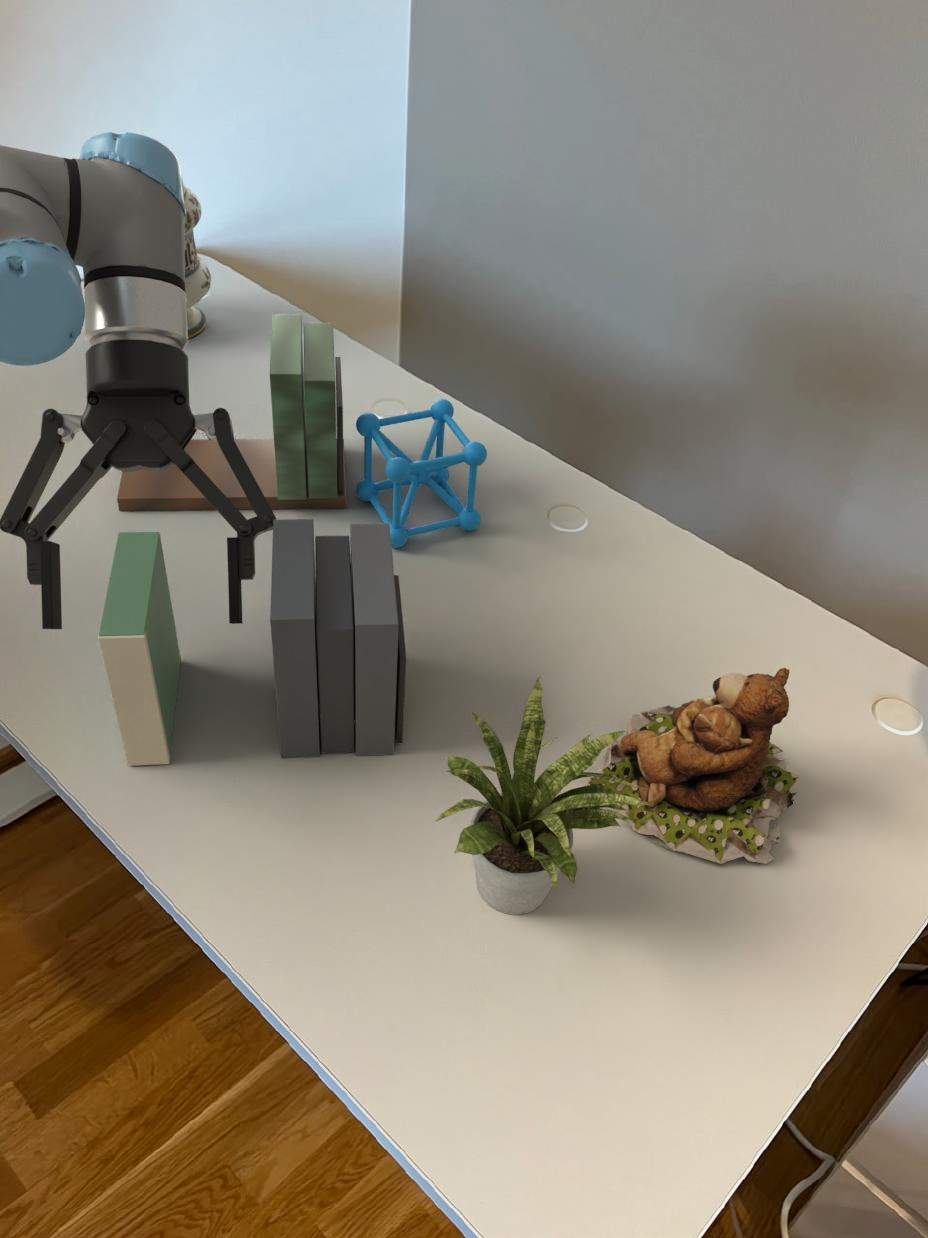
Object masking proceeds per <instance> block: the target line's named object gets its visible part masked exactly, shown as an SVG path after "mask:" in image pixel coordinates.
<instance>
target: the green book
mask: <svg viewBox="0 0 928 1238" xmlns="http://www.w3.org/2000/svg"><path fill="white" fill-rule="evenodd" d="M161 538H162V537H161V532H160V531H121V532H120V531H119V532H118V534H117V539H116V544H115V548H114V549H115V550H114V555H113V560H112V564H111V570H110V575H109V580H108V586H107V591H106V596H105V600H104V606H103V611H102V615H101V622H100V627H99V631H98V635H97V641H98V645H99V649H100V653H101V657H102V662H103V666H104V669H105V675H106V679H107V682H108V687H109V691H110V695H111V700H112V703H113V708H114V711H115V717H116V721H117V724H118V729H119V733H120V737H121V741H122V745H123V746H122V747H123V750H124V755H125V758H126V762H127V766H128V767H131V766H135V767H136V766H155V765H157V766H158V765H170V762H171V751H172V742H173V733H174V727H175V726H174V724H175V716H176V707H177V698H178V690H179V681H180V671H181V664H182V663H181V662H182V659H181V654H180V647H179V641H178V634H177V629H176V623H175V616H174V611H173V605H172V599H171V592H170V587H169V582H168V575H167V568H166V562H165V557H164V551H163V550H164V549H163V545H162V544H163V543H162V539H161Z"/></svg>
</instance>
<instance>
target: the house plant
mask: <svg viewBox="0 0 928 1238" xmlns="http://www.w3.org/2000/svg"><path fill="white" fill-rule="evenodd" d="M540 679H541V676H538V678H537V679H536V680H535V683H534V685H533V687H532V688H531V691H530V693H529V695H528V698H527V703H526V705H525V708H524V712H523V717H522V721H521V725H520V728H519V729H520V730H519V733H518V735H517V739H516V743H515V747H514V751H513V756H512V768H513V769H512V770H513V774H512V773H511V768H510V765H509V762H508V759H507V756H506V752H505V748H504V746H503V744H502V742H501V740H500V739H499V737H498V736H497V734H496V733H495V731H494V730H493V728H492V727H491V725H490V724H488V722H486V721H485V719H483V718H482V717H481V716H479V715H478V714H476V713H475V712H474V711H472V710H470V713H471V715H472V717H473V720H474V722H475V723H476V725H477V726H478V727H479V729H480V733H481V738H482V740H483V742H484V744H485V746H486V748H487V751H489V753H490V756H491V758H492V761H493V764H494V766H491V765H490V766H489V765H477V764H476V763H474V761H472V760H471V759H468V758H466V757H464V756H463V757H462V756H457V755H456V756H455V755H454V756H453V755H452V756H451V755H449V756H445V758H446V761H447V767H448V769H449V770H447V771H446V773H449V774H451V775H452V776H453V777H458V778H459V779H460V780H462V781H464V782H465V783H466V784H468V785H469V786H471V787H472V788H474V789H475V790H477V791H478V792H479V793H480V795H481V796H483V798H484V799H485V800H483V802H482V801H480V800H477V799H474V798H464V799H461V800H460V801H457V802H456V803H454V805H452V806H451V807H449V808H447V809H446V810H445V811H443V812H441V813H440V814H439V816H438V817H437V819H436V820H434V821H433V823H435V822H438V821H441V820H443V819H445V818H447V817H449V816H450V817H451V816H452V815H455V814H457V813H459V812H463V811H464V810H468V809H472V808H476V810H474V813H473V815H472V817H471V820H470V824H469V825H468V826H466V827H464V828H462V830H461V832H460V834H459V838H458V841H457V845H456V848H455V851H454V852H453V854H457V853H463V854H467V855H472V859H473V867H474V873H475V880H476V881H475V882H476V886H477V890H478V893H479V895H480V897H481V898H482V900H483V901H484V902H485V903H486V904H487V906H489V907H490V908H492V909H494V910H495V911H496V912H500V913H503V914H506V915H514V916H517V915H525V914H527V913H530V912H533V911H534V910H536V909H537V908H538V907H540V906H541V905H542V904H543V902H544V901H545V900H546V898H547V896H548V894H549V893H550V890H552V887H553V886H554V888H555V890H557V888H558V876H559V875H560V873H562V874H564V876H566V877H567V878H568V880H569V881H570V882H571V884H572V888H575V883H576V878H577V874H578V863H577V859H576V858H575V854H574V853H573V852H572V849H573V846H574V831H573V830H599V829H605V828H608V827H619V828H621V829H622V828H623V827H622V826H621V824H619V822H618V821H617V820H621V821H628V820H631V819H630V818H628V817H626V816H623V815H622V814H621V813H620V812H618V811H617V810H626V809H625V808H623V807H621V806H619V805H617V804H619V803H622V804H630V805H651V804H650V803H648V802H645V801H642V800H639V799H636V798H634V797H630V796H625V795H620V794H615V793H614V791H613V790H611V789H609V788H608V787H606V786H603V785H589V784H588V785H584V786H579V787H576V788H572V789H569V790H566V791H565V792H562V791H563V790H564V789H565V788H566V787H567V786H568V785H569V784H570V783H571V782H573V781H576V780H579V779H582V778H592V777H594V776H595V777H599V778H604V779H608V780H612V781H615V782H619V783H622V784H626V785H629V786H633V787H637V788H641V789H645V790H649V789H646V788H643V787H640V786H637V785H635V784H632V783H629V782H627V781H625V780H623V779H620V778H617V777H614V776H610V775H606V774H601V773H596V772H594V771H593V772H592V771H591V772H590V771H586V770H588V769H590V767H592V766H593V765H594V763H595V761H596V760H597V758H598V757H599V755H600V754H601V752H602V751H603V750H604V749H605V748H607V747H609V746H610V745H612V744H614V742H617V739H618V737H619V736H620V735H623V734H624V732H627V731H625V730H618V731H613V732H609V733H605V734H602V735H599V736H597V737H595V738H593V739H591V736H592V735H594V733H590V734H589V735H587V736H585V737H583V739H581V740H580V741H578V742H577V743H576V744H574V745H573V746H572V747H571V748H570V749H569V750H568V751H567V752H565V753H564V754H563V755H561V757H559V758H558V759H556V760H555V761H554V762H552V763H551V764H550V765H549V766H548V767H547V768H546V769H544V771H543V772H542V773H541V774H540V775H539V776H538V777H537V779H536V778H535V777H536V770H537V765H538V760H539V756H540V752H541V750H543V749H544V748H546V747H547V746H548V745H550V744H551V743H552V742H554V741H556V739H557V738H558V737H559V735H558V736H556V737H554V738H551V740H549V741H547V742H545V743H543V744H542V742H543V738H544V734H545V728H546V715H545V712H544V708H543V691H544V690H543V687H542V683H541V680H540ZM590 739H591V740H590ZM589 740H590V741H589ZM483 770H486V771H491V772H492V773H493V772H494V773H496V776H497V780H498V785H499V787H500V790H501V792H499V791H498V789H497V787H496V786H495V784H494V783H493V782H492V781H491V779H489V777H488V776H487V775H486V774H485V772H483ZM535 779H536V780H535ZM650 791H651V790H650ZM560 792H562V793H560ZM559 793H560V794H559ZM652 806H653V805H652ZM605 808H607V809H605ZM608 808H610V809H613V810H610V809H608ZM616 809H617V810H616ZM614 810H616V811H614ZM627 811H628V810H627ZM632 821H633V820H632Z"/></svg>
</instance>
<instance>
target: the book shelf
mask: <svg viewBox="0 0 928 1238" xmlns="http://www.w3.org/2000/svg"><path fill="white" fill-rule="evenodd" d="M302 316H303V315H302V314H301V313H299V314H298V313H272V314H271V329H270V353H269V357H270V358H269V387H270V403H271V417H272V433H273V438H238V439H237V438H234V441H235V443H236V445H237V447H238V449H239V450H240V452H241V454H242V456H243V458H244V460H245V461H246V463H247V465H248V467H249V469H250V471H251V472H252V474H253V476H254V478H255V480H256V482H257V484H258V485H259V487H260V489H261V491H262V493H263V495H264V496H265V498H266V500H267V502H268V504H269V506H270V508H271V509H272V510H294V509H295V510H297V509H299V510H300V509H301V510H302V509H305V510H306V509H307V510H308V509H347V507H348V506H347V505H348V504H347V500H348V498H347V496H348V495H347V477H346V476H347V475H346V457H345V456H346V455H345V439H344V404H343V403H344V402H343V384H342V382H343V381H342V362H341V356H335V337H334V336H335V335H334V323H333V322H304V323H303V318H302ZM184 451H185V452H186V453H187V454H188V455H189V456H190V457H191V458H192V459H193V461H194V462H195V463H196V464H197V465H198V466H199V467H200V468H201V469H202V471H203V472H204V473H205V474H206V475H207V476H208V477H209V478H210V479H211V480H212V482H213V483H214V484H215V485H216V486H217V487H218V488H219V489H220V490H221V492H222V493H223V494H224V495H225V496H226V497H227V498H228V499H229V500H230V501H231V503H232V504H233V505H234V506H235V507H236V508H237V509H238V510H254V509H253V508H252V506H251V504H250V502H249V500H248V498H247V497H246V495H245V493H244V491H243V489H242V487H241V485H240V484H239V482H238V480H237V478H236V476H235V474H234V473H233V471H232V469H231V467H230V465H229V463H228V462H227V460H226V458H225V456H224V454H223V452H222V450H221V449H220V446H219V444H218V442H213V441H210V440H209V439H208V438H207V439H205V438H204V439H203V438H201V439H200V438H199V439H196V438H195V439H194V438H193V439H191V440H190V441H189V443H188V444H187V446H186V447H185V448H184ZM121 472H122V471H121ZM116 496H117V497H116V501H117V507H118V511H119V512H139V511H140V512H141V511H142V512H147V511H150V512H151V511H154V512H155V511H217V510H216V509H215V508H214V507H213V505H212V504H211V503H210V502H209V501H208V500H207V499H206V498H205V497H204V496H203V494H202V493H201V492H200V491H199V490H198V489H197V488H196V487H195V486H194V485H193V483H192V482H191V481H190V480H189V479H188V478H187V477H186V476H185V475H184V474H183V473H182V471H181V470H180V469H179V468H178V467H177V466H176V465H175V464H173V465H172V466H171V467H169V468H168V469H165V470H164V472H152V471H148V470H144V469H142V470H138V471H135V472H122V473H121V477H120V483H119V486H118V492H117V495H116Z"/></svg>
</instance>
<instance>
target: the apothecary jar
mask: <svg viewBox="0 0 928 1238" xmlns="http://www.w3.org/2000/svg"><path fill="white" fill-rule="evenodd" d="M181 177H182V178H183V176H182V175H181ZM182 184H183V196H184V205H185V209H186V216H185V292H186V306H187V333H188V340H189V339H191V338H193V337H195V336H196V335H198V334H199V333H201V332H202V331H203V330H204V329H205V327H206V324H207V318H206V315H205V312H203V311H202V309H200V308H199V307H197V306H196V304H198V303H199V302H200V301H201V300H202V299H203V298H204V297H205V296H206V295H207V294H208V292H209V291H210V288H211V284H212V275H211V270H210V269H209V266H208V265H207V264H206V262H204V261H203V259H202V258H201V257H200V256H198V252H197V247H196V246H197V245H196V240H195V232H194V229H195V227H197V225H198V224H199V222H200V220H201V217H202V205H201V202H200V200H199V197H198V196H197V195H196V194H195V193H194V192H193V191H192V190H191V189H190V188H188V187H187V186H186V185H185V184H184V181H183V179H182Z"/></svg>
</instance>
